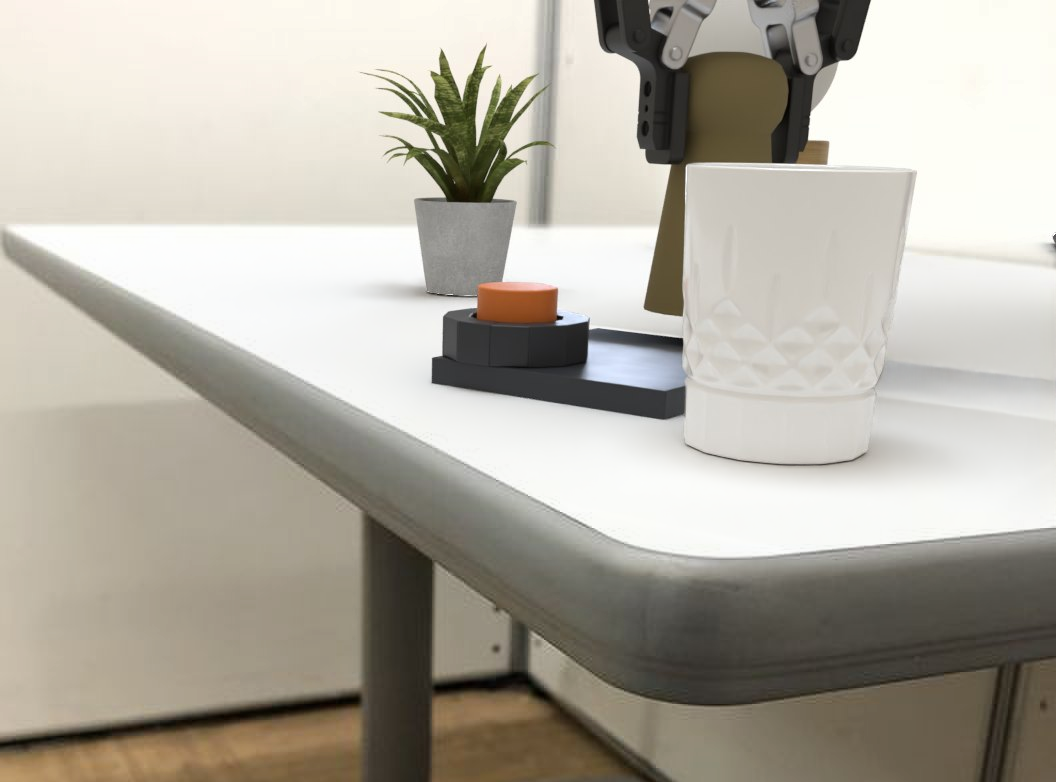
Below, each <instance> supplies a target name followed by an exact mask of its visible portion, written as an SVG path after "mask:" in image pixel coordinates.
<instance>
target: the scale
mask: <svg viewBox="0 0 1056 782" xmlns="http://www.w3.org/2000/svg"><path fill="white" fill-rule="evenodd" d="M590 322H591V318H590V316H588V315H585V314H581V313H578V312H573V311H567V310H566V311H564V310H559V309H557V321H552V322H532V323H517V322H498V321H490V320H481V319H477V307H469V308H462V309H456V310H455V309H454V310H449V311H447V312H446V313H444V315H443V316H442V347H441V348H442V350H441V355H438V356H432V357H431V384H434V385H439V386H448V387H453V388H459V389H465V390H471V391H472V390H473V391H477V392H483V393H484V392H485V393H490V394H497V395H503V396H509V397H510V396H511V397H516V398H522V397H523V399H528V398H529V399H530V400H535V401H542V402H548V403H555V404H559V405H560V404H562V405H567V406H572V407H573V406H574V407H579V408H586V409H591V410H598V411H605V412H612V413H618V414H624V415H631V416H637V417H642V418H650V419H656V420H661V421H666V420H669V419H672V418H675V417H678V416H684V404H685V378H686V377H687V375H686V373H685V372H684V370H683V368H682V354H683V337H677V336H676V337H675V336H668V335H660V334H651V333H644V332H637V331H635V332H634V331H626V330H618V329H610V328H602V327H601V328H600V327H596V328H595V327H594V328H590Z"/></svg>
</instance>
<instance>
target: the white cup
mask: <svg viewBox="0 0 1056 782" xmlns="http://www.w3.org/2000/svg"><path fill="white" fill-rule="evenodd" d="M917 175H918V170H916V169H914V168H906V167H905V168H904V167H889V166H885V167H884V166H871V165H870V166H866V165H845V164H844V165H843V164H842V165H840V164H827V165H815V164H777V163H689V164H687V165H686V196H685V233H684V263H683V285H682V287H683V298H684V309H683V317H682V319H681V320H682V321H681V333H682V338H683V354H682V368H683V370H684V372H685V373H686V375H687V377H686V378H685V404H684V414H683V437H684V442H685V444H686V445H687V446H690V447H692V448H694V449H696V450H698V451H700V452H703V453H705V454H707V455H713V456H717V457H721V458H728V459H732V460H736V461H737V460H738V461H745V462H753V463H765V464H776V465H826V464H834V463H841V462H847V461H852V460H855V459H857V458H859V457H861V456H862V455H864V454H865V453H867V451H868V450H869V444H870V439H871V432H872V425H873V418H874V412H875V407H876V399H877V390H876V386H877V385H878V383H879V379H880V377H881V375H882V372H883V369H884V366H885V363H886V358H887V350H888V344H889V343H888V341H889V335H890V330H891V327H892V323H893V320H894V314H895V308H896V304H897V296H898V291H899V284H900V279H901V272H902V267H903V260H904V254H905V248H906V241H907V235H908V229H909V224H910V223H909V222H910V218H911V217H910V216H911V211H912V205H913V199H914V194H915V193H914V192H915V187H916V182H917V177H918V176H917Z"/></svg>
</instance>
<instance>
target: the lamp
mask: <svg viewBox="0 0 1056 782" xmlns="http://www.w3.org/2000/svg"><path fill="white" fill-rule="evenodd" d="M709 52H748V53H753V54H757V55H761V56H764V57H766V54H765V50H764V45H763V41H762V37H761V32H760V30H759V28H758V27H757V26H755V25H754V23H753V22H752V20H751V16H750V12H749V8H748V3H747V0H717V1H716V4H715V6H714V9H713V11H712V12H711V14H710V15H709V16H708V17H707V18H706V19H704V21H703V22H702V24H701V26H700V29H699V31H698V34H697V36H696V39H695V41H694V44H693V46H692V49H691V51H690V54H689V56H688V57H692V56H696V55H699V54H704V53H709ZM839 62H840V61H839ZM839 62H837V63H834V64H832V65H829V66H827V67H824V68H823V69H821V70H820V71H819V72H818V74H817V75H816V77H815V80H814V85H813V95H812V105H811V112H813V111H814V110H815V108H817V106H819V104H820V103H821V102H822V101H823V99H824V98H825V96H826V95H827V93H828V92H829V90H830V88H831V86H832V84H833V82H834V79H835V76H836V74H837V70H838V67H839ZM829 151H830V141H829V140H821V139H820V140H819V139H808V142H807V144H806V146H805V149H804V151H803V152H799V157H798V160H797V162H796V163H795V164H815V165H828V161H829V153H830V152H829Z"/></svg>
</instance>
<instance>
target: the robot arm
mask: <svg viewBox="0 0 1056 782" xmlns="http://www.w3.org/2000/svg"><path fill="white" fill-rule="evenodd" d="M716 1H717V0H593V5H594V12H595V21H596V28H597V37H598V43H599V46H600V48H601V50H602V51H603V52H604V53H607V54H610V55H611V54H616V55H618V56H620V57H623V58H625V59H627V60H628V61H630V62H632V63H633V64H634V65H635V66H636V67H637V70H638V73H639V93H638V107H637V108H638V109H637V111H638V113H637V125H636V140H637V144H638V147H639V150H644V155H645V160H646V162H647V163H648V164H652V165H668V166H671V165H679V164H681V163H682V161H683V159H684V155H685V142H686V128H687V114H688V100H689V87H690V73H682V66H683V65H684V64H685V63H686V61H687V59H688V56H689V54H690V51H691V49H692V46H693V44H694V41H695V39H696V36H697V34H698V31H699V29H700V26H701V24H702V22H703V21H704V19H706V18H707V17H708V16H709V15H710V14H711V12H712V11H713V9H714V6H715V4H716ZM871 1H872V0H747V3H748V8H749V12H750V16H751V20H752V22H753V23H754V25H755V26H757V27H758V28H759V30H760V32H761V37H762V41H763V45H764V50H765V54H766V57H767V58H770V59H774V60H775V61H776V62H778V63H779V64H780V65H781V66H782V68H783V70H784V72H785V74H786V76H787V83H788V90H789V91H788V100H787V106H786V109H785V112H784V115H783V118H782V120H781V122H780V123H779V124H778V126H777V127H776V128H775V130H774V131H773V132H772V134H771V150H772V163H777V164H795V163H796V162H797V160H798V157H799V152H803V151H804V149H805V146H806V144H807V142H808V140H809V135H810V125H811V115H812V111H811V105H812V95H813V85H814V80H815V77H816V75H817V74H818V72H819V71H820V70H821V69H823V68H824V67H827V66H829V65H832V64H834V63H837V62H844V61H845V62H847V61H850V60H852V59H854V57H855V56H856V54H857V52H858V49H859V46H860V42H861V38H862V36H863V31H864V27H865V23H866V20H867V17H868V13H869V10H870V6H871V3H872V2H871ZM1052 240H1053V242H1054V244H1055V245H1056V234H1055V235H1054V236H1053V235H1052Z"/></svg>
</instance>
